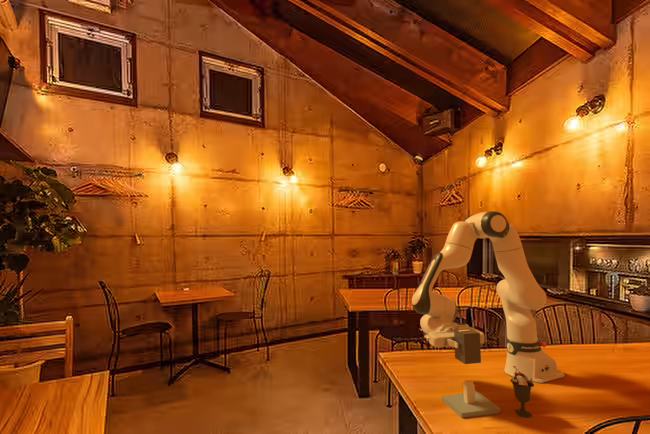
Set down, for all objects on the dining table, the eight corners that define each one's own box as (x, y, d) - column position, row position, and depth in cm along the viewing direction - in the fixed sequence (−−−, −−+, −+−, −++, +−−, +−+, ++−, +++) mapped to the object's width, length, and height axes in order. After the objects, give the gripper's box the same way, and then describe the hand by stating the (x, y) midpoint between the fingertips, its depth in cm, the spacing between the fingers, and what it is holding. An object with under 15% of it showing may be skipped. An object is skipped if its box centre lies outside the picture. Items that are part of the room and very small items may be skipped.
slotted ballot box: (470, 356, 120) (469, 327, 120) (480, 362, 114) (479, 331, 114) (454, 357, 118) (453, 328, 119) (465, 364, 113) (463, 333, 113)
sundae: (507, 409, 113) (505, 363, 114) (525, 407, 113) (523, 362, 114) (520, 419, 106) (517, 371, 107) (539, 418, 107) (537, 370, 108)
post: (477, 395, 122) (476, 372, 123) (499, 412, 110) (498, 387, 111) (442, 400, 120) (441, 376, 120) (461, 417, 108) (460, 391, 108)
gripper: (421, 326, 127) (440, 337, 114) (470, 323, 131) (494, 333, 117) (422, 343, 127) (441, 356, 113) (470, 339, 131) (494, 351, 117)
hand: (468, 344), depth 115 cm, fingers closed on slotted ballot box, 6 cm apart
